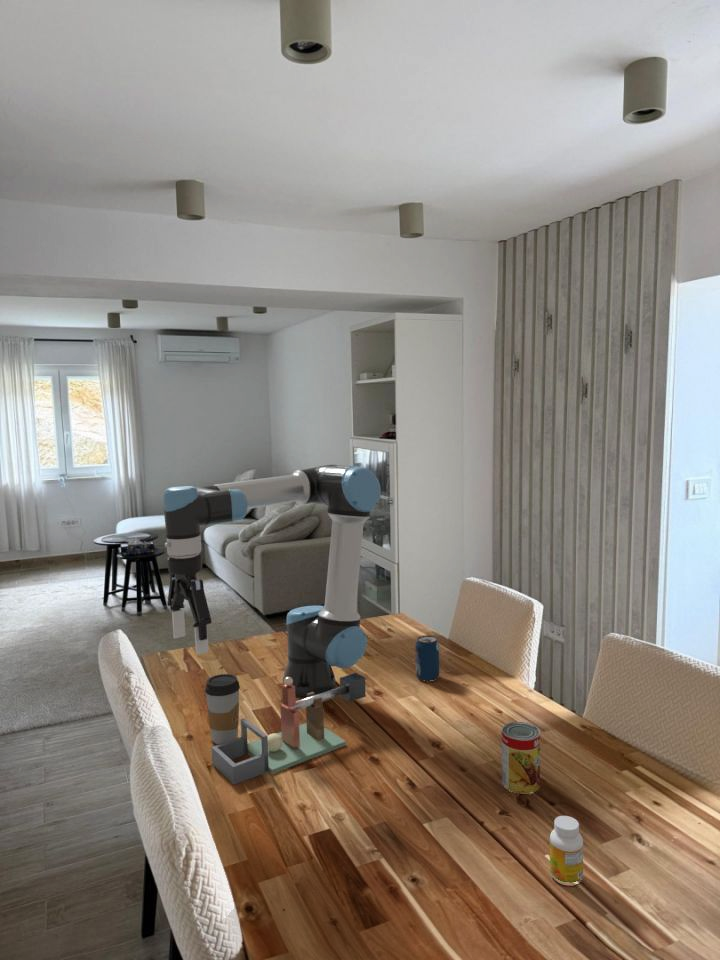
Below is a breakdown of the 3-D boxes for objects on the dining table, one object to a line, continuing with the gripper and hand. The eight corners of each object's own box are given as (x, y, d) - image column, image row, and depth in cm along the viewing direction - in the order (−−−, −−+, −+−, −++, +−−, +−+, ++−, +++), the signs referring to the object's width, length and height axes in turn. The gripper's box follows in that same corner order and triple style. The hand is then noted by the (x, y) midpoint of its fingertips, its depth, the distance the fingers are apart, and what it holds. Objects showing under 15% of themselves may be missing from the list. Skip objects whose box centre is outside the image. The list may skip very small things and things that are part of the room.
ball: (277, 744, 159) (276, 728, 158) (285, 751, 156) (285, 734, 155) (262, 750, 156) (261, 733, 156) (270, 757, 153) (270, 740, 153)
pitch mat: (313, 724, 171) (313, 720, 171) (345, 745, 160) (345, 741, 160) (242, 749, 159) (242, 745, 159) (272, 774, 148) (272, 769, 148)
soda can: (443, 676, 199) (442, 637, 198) (433, 684, 194) (432, 644, 192) (422, 671, 203) (421, 633, 202) (411, 679, 197) (411, 640, 196)
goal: (245, 751, 158) (244, 718, 157) (268, 771, 149) (267, 735, 148) (212, 763, 153) (210, 729, 152) (234, 784, 144) (232, 748, 143)
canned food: (546, 792, 138) (546, 737, 137) (510, 797, 137) (510, 741, 136) (530, 772, 146) (530, 719, 145) (496, 776, 145) (496, 723, 144)
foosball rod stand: (354, 713, 174) (352, 652, 172) (368, 721, 169) (367, 659, 167) (280, 740, 160) (277, 674, 159) (293, 749, 156) (290, 682, 154)
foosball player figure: (313, 734, 165) (311, 691, 164) (324, 742, 162) (323, 697, 160) (307, 736, 164) (305, 693, 163) (318, 744, 160) (316, 700, 159)
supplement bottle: (544, 866, 116) (545, 814, 115) (575, 864, 117) (575, 811, 116) (556, 888, 111) (557, 833, 110) (588, 886, 111) (588, 831, 110)
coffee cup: (234, 748, 159) (231, 688, 158) (201, 745, 161) (198, 685, 160) (247, 731, 168) (244, 674, 166) (215, 729, 169) (213, 672, 168)
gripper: (149, 548, 160) (156, 634, 163) (189, 567, 140) (196, 664, 143) (179, 543, 165) (185, 627, 167) (223, 561, 145) (228, 655, 147)
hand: (190, 644), depth 155 cm, fingers open, 13 cm apart
